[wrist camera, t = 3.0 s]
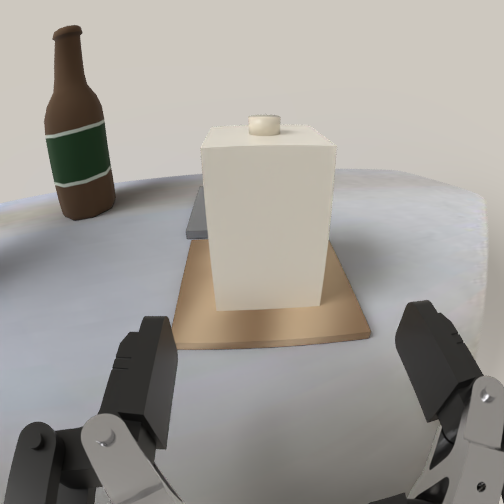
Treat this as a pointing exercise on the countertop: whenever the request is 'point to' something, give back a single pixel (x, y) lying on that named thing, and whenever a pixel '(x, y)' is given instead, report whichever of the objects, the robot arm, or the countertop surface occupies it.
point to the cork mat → (263, 312)
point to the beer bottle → (77, 134)
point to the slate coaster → (198, 218)
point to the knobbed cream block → (267, 213)
